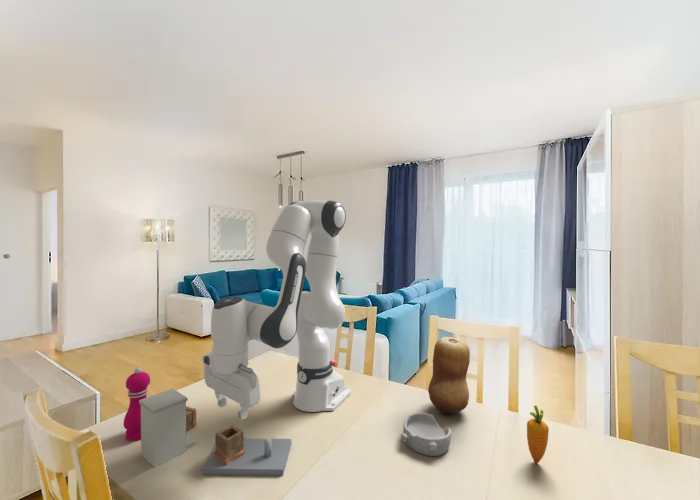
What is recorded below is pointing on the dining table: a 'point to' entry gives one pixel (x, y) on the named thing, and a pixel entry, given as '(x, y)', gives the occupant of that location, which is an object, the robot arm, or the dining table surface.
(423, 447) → the dish
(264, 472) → the pin board
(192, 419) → the sleeve
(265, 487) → the dining table surface
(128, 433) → the pepper mill
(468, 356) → the butternut squash
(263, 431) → the dining table surface
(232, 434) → the sleeve
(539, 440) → the carrot
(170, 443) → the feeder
